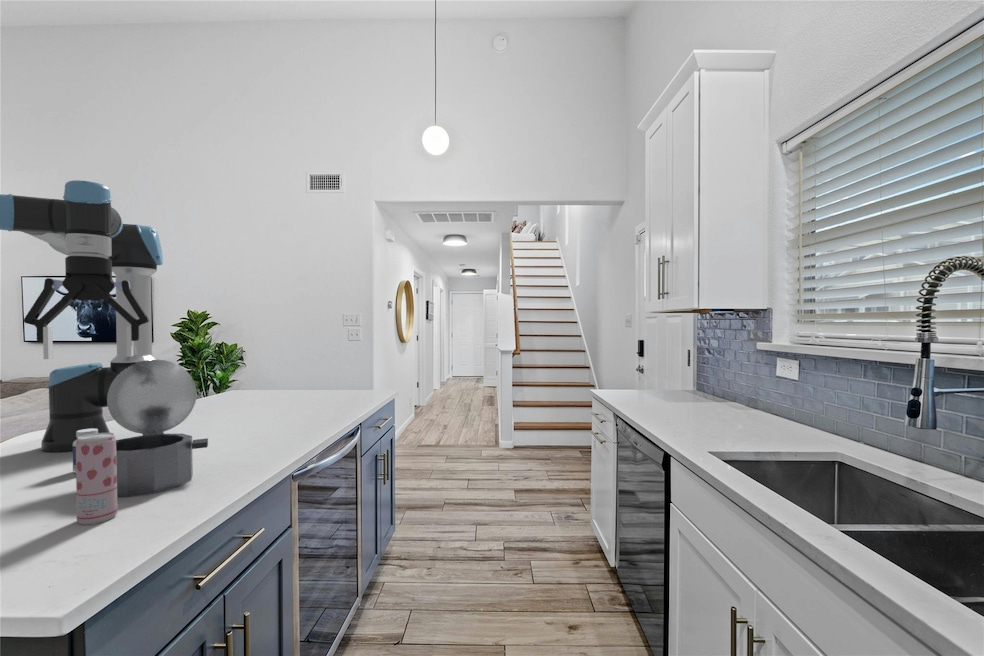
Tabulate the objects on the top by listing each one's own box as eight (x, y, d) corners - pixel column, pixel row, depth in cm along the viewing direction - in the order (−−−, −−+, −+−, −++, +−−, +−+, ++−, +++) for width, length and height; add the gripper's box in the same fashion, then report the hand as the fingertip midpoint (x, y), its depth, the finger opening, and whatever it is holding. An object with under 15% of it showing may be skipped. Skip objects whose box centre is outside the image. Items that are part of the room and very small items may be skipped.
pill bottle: (85, 474, 112) (84, 433, 112) (66, 473, 113) (66, 432, 113) (108, 468, 118) (107, 428, 117) (90, 466, 119) (89, 427, 118)
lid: (106, 440, 110) (108, 440, 112) (196, 432, 118) (197, 431, 120) (107, 361, 112) (110, 362, 115) (196, 358, 121) (197, 359, 123)
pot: (90, 480, 108) (90, 440, 108) (209, 465, 119) (209, 429, 119) (68, 505, 93) (67, 459, 93) (206, 485, 104) (205, 444, 104)
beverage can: (71, 527, 83) (69, 441, 83) (83, 515, 89) (82, 434, 88) (111, 521, 86) (110, 437, 85) (121, 510, 91) (120, 431, 91)
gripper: (0, 250, 92) (2, 361, 93) (158, 258, 104) (159, 356, 105) (16, 255, 99) (18, 358, 99) (162, 262, 111) (163, 354, 111)
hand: (90, 357), depth 102 cm, fingers open, 13 cm apart
